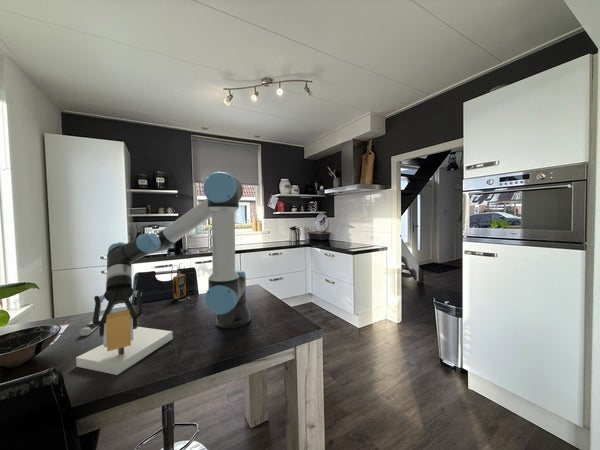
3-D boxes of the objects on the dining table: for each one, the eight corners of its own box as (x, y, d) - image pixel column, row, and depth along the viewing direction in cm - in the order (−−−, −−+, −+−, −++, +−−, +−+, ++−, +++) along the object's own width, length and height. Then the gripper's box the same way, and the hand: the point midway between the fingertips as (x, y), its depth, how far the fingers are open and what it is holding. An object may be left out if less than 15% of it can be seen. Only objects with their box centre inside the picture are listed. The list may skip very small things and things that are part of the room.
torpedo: (91, 336, 97) (90, 320, 97) (77, 338, 96) (76, 322, 96) (111, 318, 114) (110, 305, 114) (99, 320, 113) (98, 306, 113)
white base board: (172, 338, 94) (172, 317, 94) (117, 374, 73) (115, 347, 73) (138, 333, 99) (137, 313, 98) (76, 366, 77) (75, 340, 77)
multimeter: (184, 302, 134) (183, 267, 134) (168, 301, 136) (167, 266, 136) (200, 294, 149) (199, 262, 148) (186, 293, 151) (185, 261, 150)
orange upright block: (130, 337, 83) (129, 309, 82) (130, 345, 78) (129, 315, 78) (108, 343, 79) (107, 313, 79) (107, 351, 75) (106, 319, 74)
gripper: (149, 281, 96) (153, 337, 83) (86, 289, 85) (80, 356, 72) (149, 270, 92) (154, 328, 79) (83, 278, 81) (76, 347, 68)
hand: (119, 341), depth 76 cm, fingers closed on orange upright block, 6 cm apart
